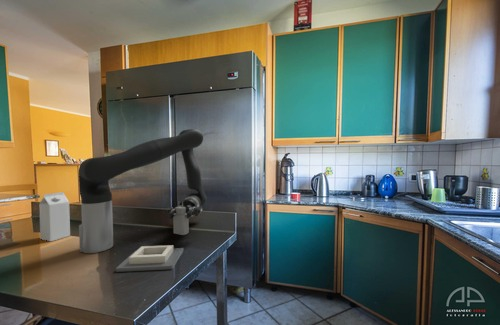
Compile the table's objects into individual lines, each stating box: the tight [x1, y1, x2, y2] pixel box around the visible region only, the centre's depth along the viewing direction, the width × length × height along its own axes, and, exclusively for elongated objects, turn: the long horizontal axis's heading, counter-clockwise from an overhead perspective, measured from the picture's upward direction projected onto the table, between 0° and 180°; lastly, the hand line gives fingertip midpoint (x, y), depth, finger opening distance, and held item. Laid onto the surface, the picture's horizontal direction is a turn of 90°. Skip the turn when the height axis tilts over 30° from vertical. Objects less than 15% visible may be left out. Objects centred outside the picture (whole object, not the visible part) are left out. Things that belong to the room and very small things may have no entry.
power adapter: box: [172, 200, 190, 236], centre depth 83 cm, size 3×5×12 cm, turn 64°
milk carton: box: [38, 191, 71, 242], centre depth 93 cm, size 7×7×19 cm
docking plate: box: [115, 244, 184, 273], centre depth 70 cm, size 16×13×3 cm
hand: (179, 215), depth 81 cm, fingers closed on power adapter, 5 cm apart
